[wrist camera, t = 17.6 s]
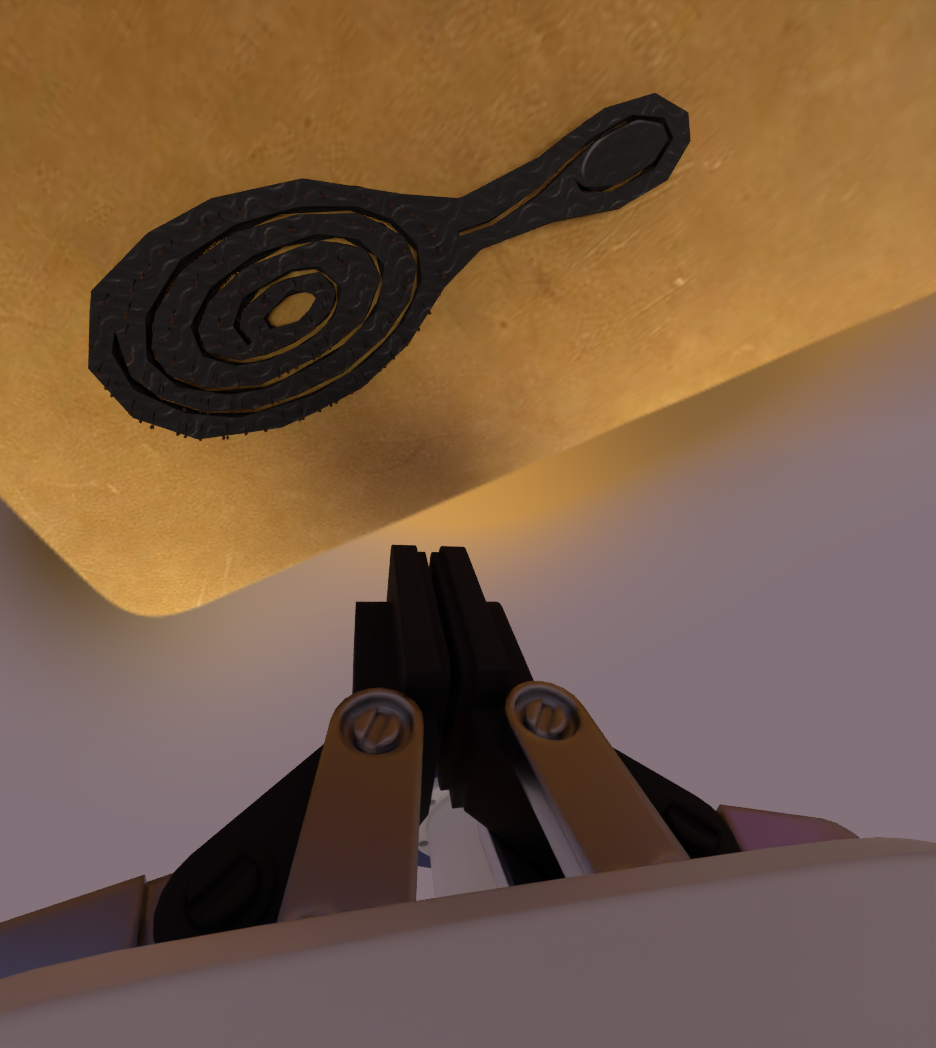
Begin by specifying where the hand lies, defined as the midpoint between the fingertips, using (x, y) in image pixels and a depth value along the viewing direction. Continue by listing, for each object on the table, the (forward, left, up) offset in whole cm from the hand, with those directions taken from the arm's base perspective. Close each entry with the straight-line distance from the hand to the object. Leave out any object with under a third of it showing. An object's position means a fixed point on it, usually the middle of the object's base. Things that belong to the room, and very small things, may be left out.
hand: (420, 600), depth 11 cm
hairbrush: (+8, 0, -14) cm, 16 cm away
